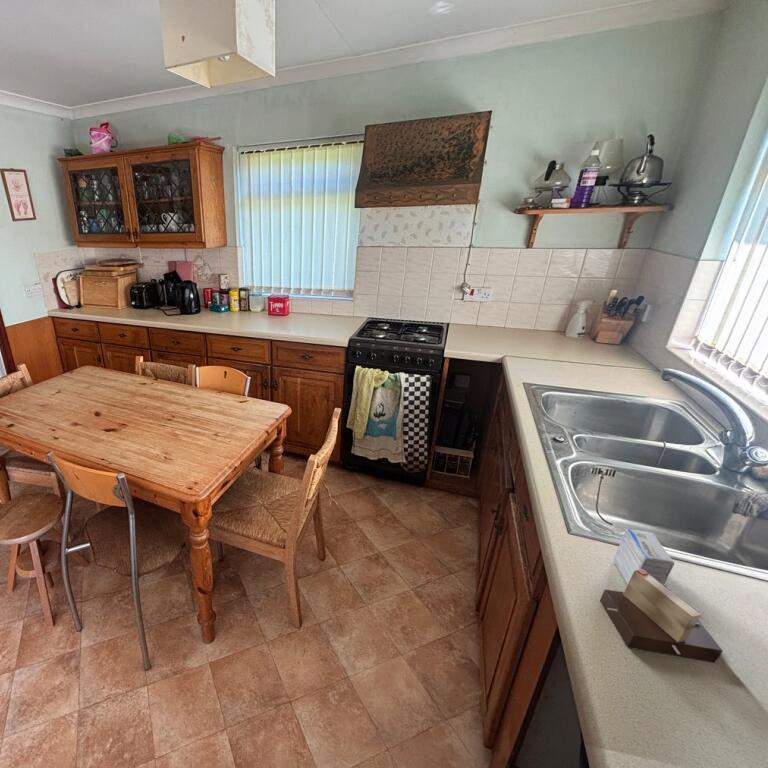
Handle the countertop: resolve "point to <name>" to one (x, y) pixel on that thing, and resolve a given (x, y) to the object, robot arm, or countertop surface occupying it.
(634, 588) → the dial pointer
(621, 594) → the dark brown flat slab
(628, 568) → the medicine box
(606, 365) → the countertop surface
